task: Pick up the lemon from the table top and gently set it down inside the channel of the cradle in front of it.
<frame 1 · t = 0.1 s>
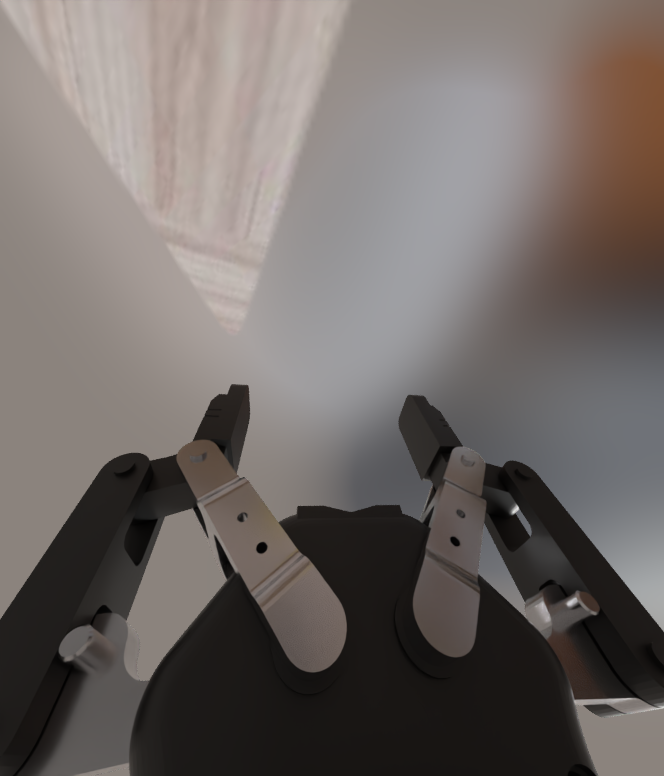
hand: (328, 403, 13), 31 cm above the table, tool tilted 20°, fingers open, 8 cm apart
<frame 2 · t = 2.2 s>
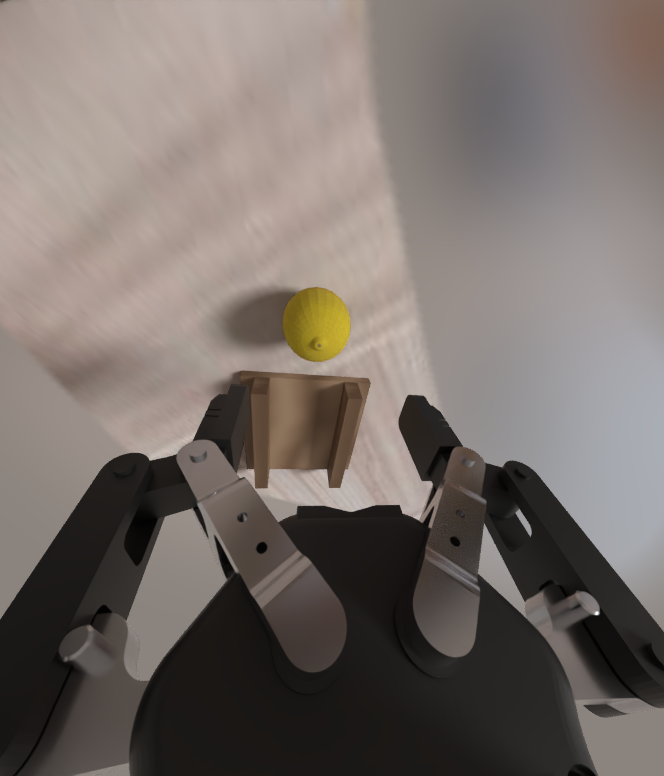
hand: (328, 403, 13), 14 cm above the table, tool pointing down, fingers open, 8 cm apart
cradle: (302, 424, 33), on the table
lemon: (314, 307, 25), on the table
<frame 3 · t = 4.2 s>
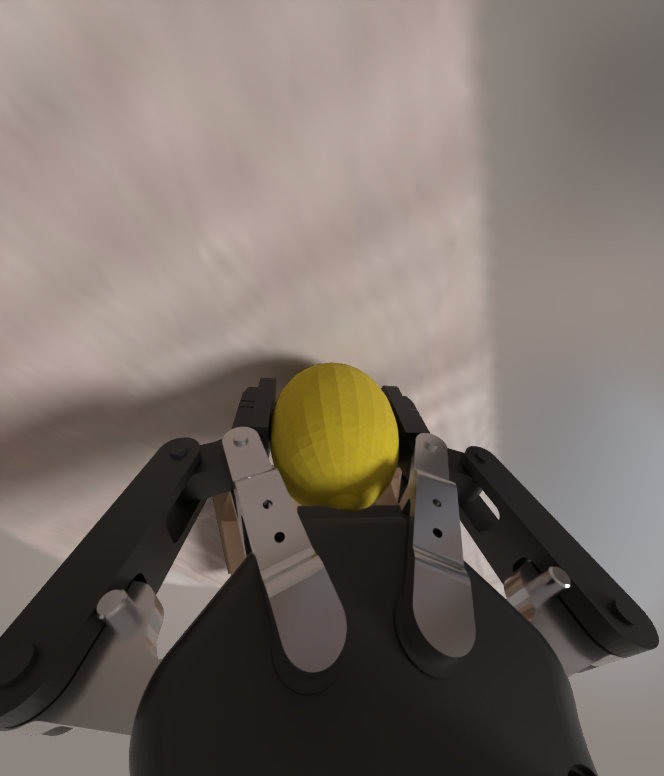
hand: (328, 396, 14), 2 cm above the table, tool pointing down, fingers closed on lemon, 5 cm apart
cradle: (305, 521, 23), on the table
lemon: (326, 378, 15), on the table, touching gripper
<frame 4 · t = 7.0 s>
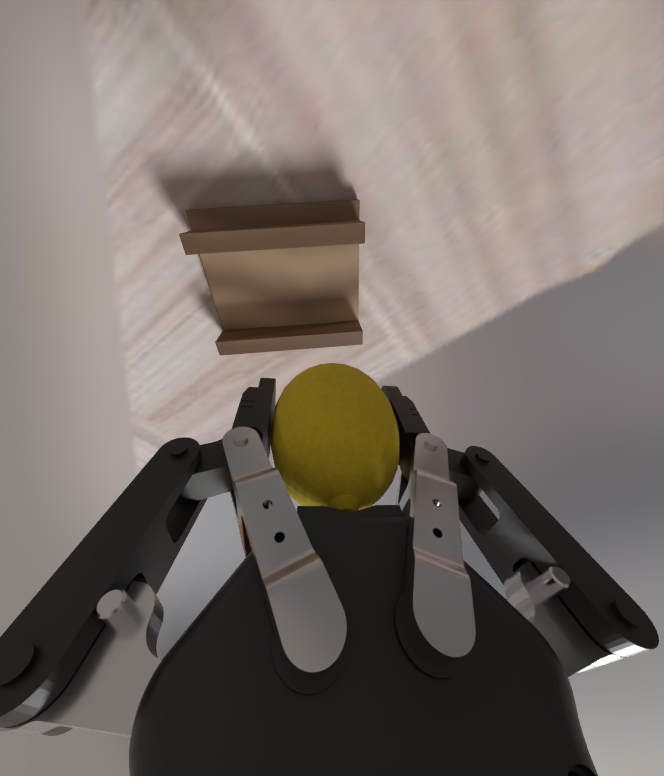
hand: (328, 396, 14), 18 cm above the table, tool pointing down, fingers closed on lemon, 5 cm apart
cradle: (286, 285, 28), on the table
lemon: (326, 379, 15), point 16 cm above the table, touching gripper
when the fingers open (4 cm above the table, at t = 9.8 s): lemon drops 1 cm, resting on cradle.
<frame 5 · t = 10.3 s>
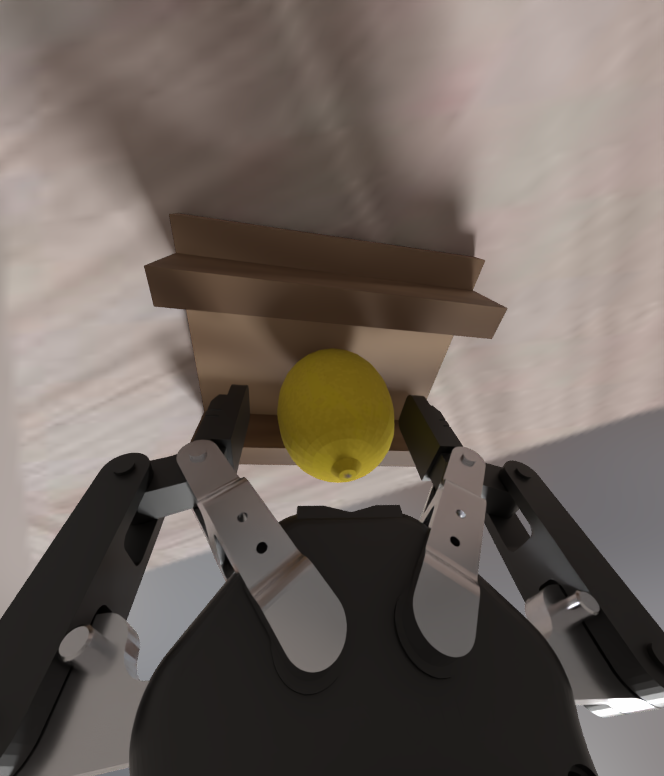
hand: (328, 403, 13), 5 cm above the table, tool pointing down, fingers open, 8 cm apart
cradle: (323, 359, 17), on the table
lemon: (326, 366, 16), point 1 cm above the table, touching cradle
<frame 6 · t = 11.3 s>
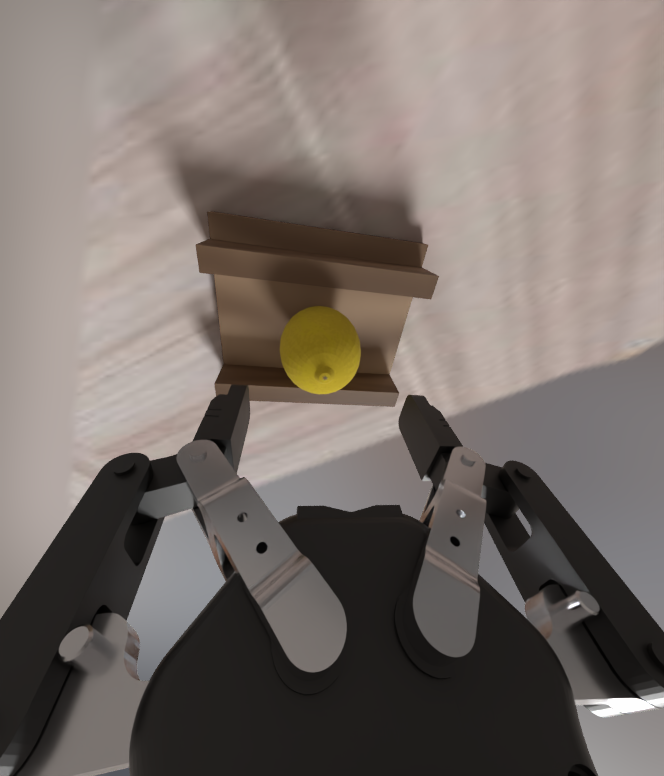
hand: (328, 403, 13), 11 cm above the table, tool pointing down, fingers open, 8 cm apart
cradle: (314, 323, 22), on the table
lemon: (316, 327, 22), point 1 cm above the table, touching cradle
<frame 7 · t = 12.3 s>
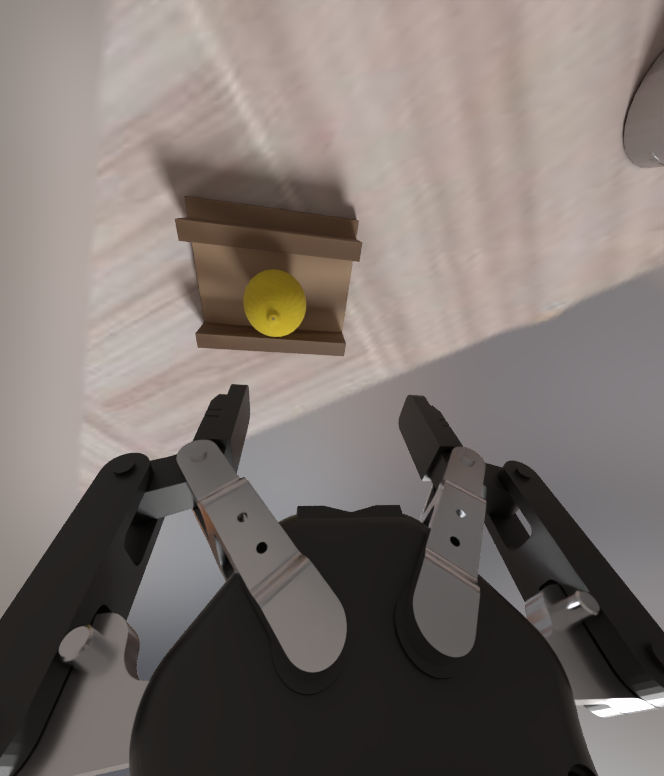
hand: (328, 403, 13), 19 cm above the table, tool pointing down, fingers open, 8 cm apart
cradle: (276, 288, 28), on the table
lemon: (277, 290, 27), point 1 cm above the table, touching cradle
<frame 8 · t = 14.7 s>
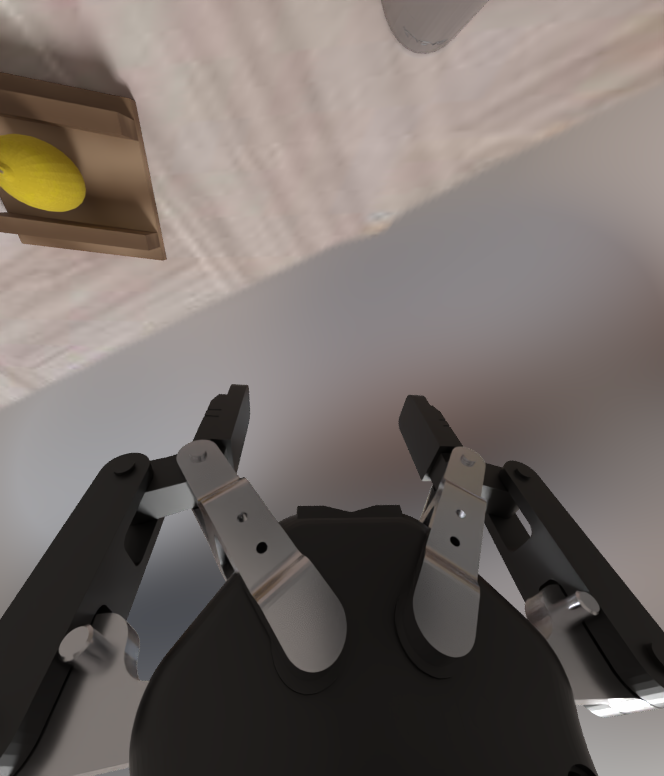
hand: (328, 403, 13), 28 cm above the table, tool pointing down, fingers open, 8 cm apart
cradle: (77, 178, 28), on the table
lemon: (73, 178, 28), point 1 cm above the table, touching cradle
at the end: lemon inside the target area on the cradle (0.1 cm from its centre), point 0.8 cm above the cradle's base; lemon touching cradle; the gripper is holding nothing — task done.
